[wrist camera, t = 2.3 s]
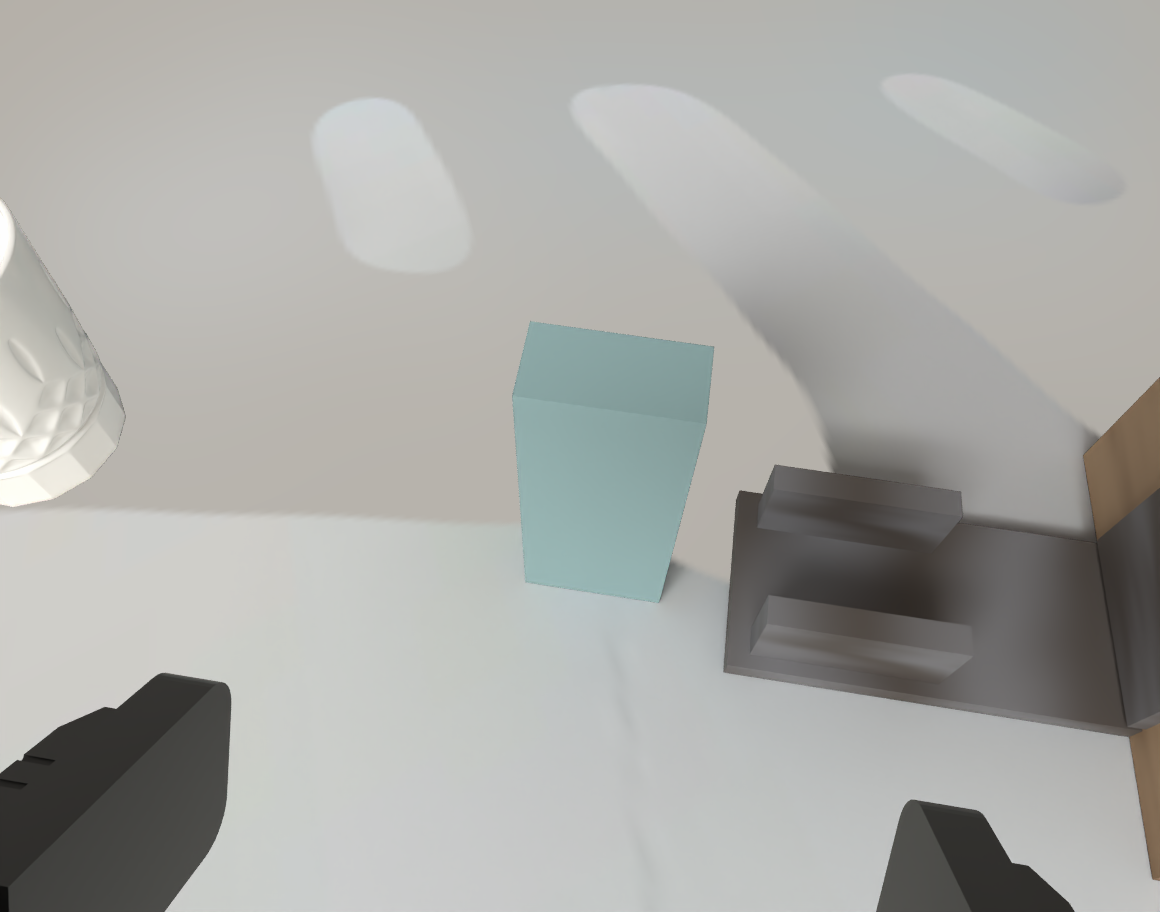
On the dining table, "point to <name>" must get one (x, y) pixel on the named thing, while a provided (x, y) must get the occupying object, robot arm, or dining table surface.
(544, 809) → the dining table surface
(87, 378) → the white cup
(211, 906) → the dining table surface
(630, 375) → the tall teal block
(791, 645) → the hinge cabinet
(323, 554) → the dining table surface
